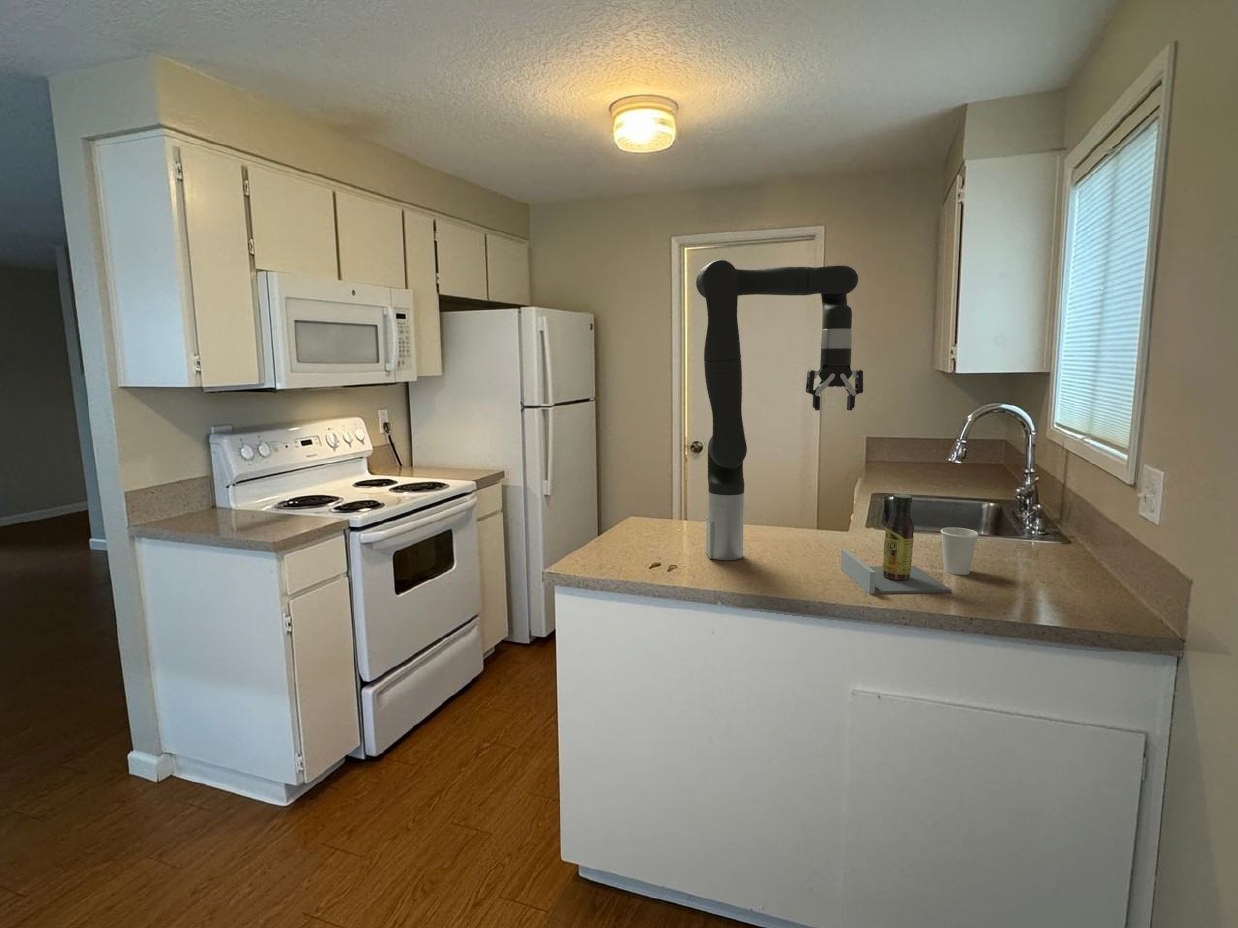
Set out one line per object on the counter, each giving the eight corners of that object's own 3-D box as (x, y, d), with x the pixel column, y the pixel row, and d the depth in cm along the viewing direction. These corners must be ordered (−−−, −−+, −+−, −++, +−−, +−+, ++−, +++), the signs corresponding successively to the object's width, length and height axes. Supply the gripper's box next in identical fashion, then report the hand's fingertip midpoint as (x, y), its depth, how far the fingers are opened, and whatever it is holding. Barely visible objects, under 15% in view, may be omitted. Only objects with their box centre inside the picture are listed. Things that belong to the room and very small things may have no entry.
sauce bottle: (877, 573, 169) (881, 492, 166) (902, 572, 170) (907, 491, 167) (890, 582, 163) (895, 498, 160) (916, 581, 164) (921, 497, 160)
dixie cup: (973, 567, 176) (976, 528, 174) (978, 578, 168) (981, 537, 166) (936, 564, 178) (939, 526, 177) (939, 574, 170) (942, 534, 169)
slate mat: (880, 593, 157) (880, 591, 157) (851, 569, 175) (851, 566, 175) (951, 592, 158) (951, 589, 158) (914, 568, 176) (915, 565, 176)
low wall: (869, 593, 157) (870, 572, 156) (840, 569, 175) (841, 549, 174) (874, 593, 157) (875, 572, 156) (845, 569, 175) (846, 549, 174)
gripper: (813, 347, 177) (810, 411, 180) (869, 346, 178) (866, 411, 180) (804, 347, 185) (802, 409, 187) (858, 347, 185) (855, 409, 188)
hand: (833, 410), depth 184 cm, fingers open, 8 cm apart
